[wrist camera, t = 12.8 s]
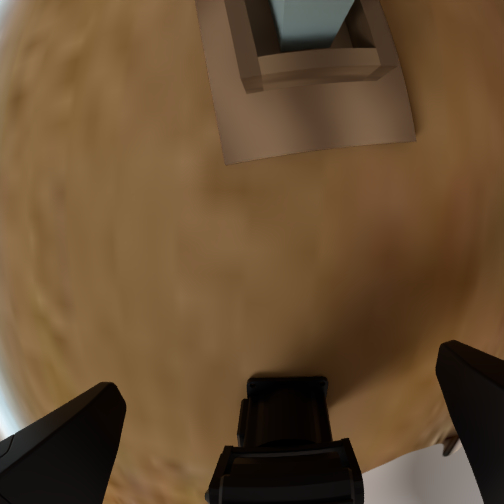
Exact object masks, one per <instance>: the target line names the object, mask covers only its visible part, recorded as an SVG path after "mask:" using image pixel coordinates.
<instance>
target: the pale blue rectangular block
mask: <svg viewBox="0 0 504 504" xmlns="http://www.w3.org/2000/svg"><path fill="white" fill-rule="evenodd" d="M354 1H355V0H268V3H269V6H270V10H271V14H272V18H273V22H274V26H275V30H276V34H277V38H278V42H279V46H280V50H281V52H284V51H293V50H303V49H316V48H330V46H331V44H332V42H333V40H334V38H335V36H336V34H337V33H338V31H339V29H340V27H341V25H342V23H343V21H344V19H345V17H346V15H347V14H348V12H349V10H350V8H351V6H352V4H353V2H354Z"/></svg>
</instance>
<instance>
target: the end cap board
mask: <svg viewBox="0 0 504 504" xmlns="http://www.w3.org/2000/svg"><path fill="white" fill-rule="evenodd" d="M195 3H196V9H197V15H198V20H199V26H200V32H201V37H202V43H203V48H204V54H205V59H206V65H207V70H208V76H209V81H210V87H211V92H212V98H213V103H214V108H215V114H216V119H217V124H218V130H219V135H220V140H221V146H222V151H223V156H224V161H225V165H230V164H236V163H241V162H246V161H252V160H257V159H263V158H269V157H275V156H282V155H288V154H295V153H302V152H309V151H317V150H325V149H333V148H342V147H351V146H361V145H373V144H385V143H400V142H415V141H416V135H415V129H414V123H413V118H412V113H411V108H410V103H409V98H408V93H407V89H406V85H405V81H404V77H403V73H402V69H401V65H400V61H399V58H398V54H397V51H396V48H395V44H394V41H393V38H392V35H391V32H390V29H389V26H388V23H387V20H386V17H385V15H384V12H383V9H382V7H381V4H380V2H379V0H355V1H354V2H353V4H352V6H351V8H350V10H349V12H348V14H347V15H346V17H345V19H344V21H343V23H342V25H341V27H340V29H339V31H338V33H337V34H336V36H335V38H334V40H333V42H332V44H331V46H330V48H316V49H303V50H293V51H284V52H281V50H280V46H279V42H278V38H277V34H276V30H275V26H274V22H273V18H272V14H271V10H270V6H269V3H268V0H195Z"/></svg>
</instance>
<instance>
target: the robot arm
mask: <svg viewBox="0 0 504 504" xmlns="http://www.w3.org/2000/svg"><path fill="white" fill-rule="evenodd" d="M436 376H437V379H438V381H439V384H440V387H441V390H442V393H443V396H444V399H445V402H446V405H447V408H448V411H449V414H450V417H451V419H452V422H453V424H454V427H455V429H456V431H457V433H458V436H459V438H460V440H461V443H462V445H463V447H464V450H465V453H466V455H467V458H468V460H469V463H470V465H471V468H472V470H473V473H474V476H475V479H476V481H477V484H478V487H479V490H480V493H481V496H482V499H483V502H484V504H504V360H501V359H499V358H497V357H494V356H492V355H489V354H487V353H485V352H482V351H480V350H478V349H475V348H473V347H470V346H468V345H466V344H463V343H461V342H458V341H456V340H451V341H448V342H445V343H442V344H441V345H440V348H439V352H438V358H437V363H436ZM320 382H323V383H320ZM252 384H255V385H252ZM327 389H328V380H327V378H326V377H323V376H321V377H300V378H250V379H249V380H248V381H247V398H248V399H243V400H242V402H241V409H240V416H239V423H238V430H237V439H238V446H239V447H233V446H225V447H224V450H223V453H222V454H221V455H220V458H219V460H218V463H217V466H216V469H215V471H214V474H213V477H212V479H211V482H210V485H209V489H208V490H207V491H206V493H205V500H206V501H207V502H208V503H209V504H364V486H363V479H362V474H361V470H360V468H359V465H358V462H357V459H356V457H355V454H354V451H353V448H352V446H351V443H350V440H349V438H344V439H341V440H338V441H333V439H332V433H331V427H330V421H329V415H328V410H327V404H326V395H327ZM125 414H126V403H125V400H124V399H123V397H122V395H121V393H120V391H119V390H118V388H117V386H116V385H115V384H114V383H112V382H100V383H99V384H97V385H95V386H94V387H92V388H90V389H89V390H87V391H86V392H84V393H82V394H81V395H79V396H77V397H76V398H74V399H72V400H71V401H69V402H68V403H66V404H64V405H63V406H61V407H59V408H58V409H56V410H54V411H53V412H51V413H49V414H47V415H46V416H44V417H42V418H41V419H39V420H37V421H36V422H34V423H32V424H30V425H29V426H27V427H25V428H24V429H22V430H20V431H18V432H17V433H15V435H14V434H13V435H11V436H10V437H8V438H6V439H4V440H2V441H1V442H0V504H102V503H103V499H104V495H105V492H106V488H107V485H108V481H109V478H110V475H111V471H112V468H113V465H114V461H115V458H116V455H117V451H118V447H119V442H120V437H121V432H122V428H123V423H124V418H125Z"/></svg>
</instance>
